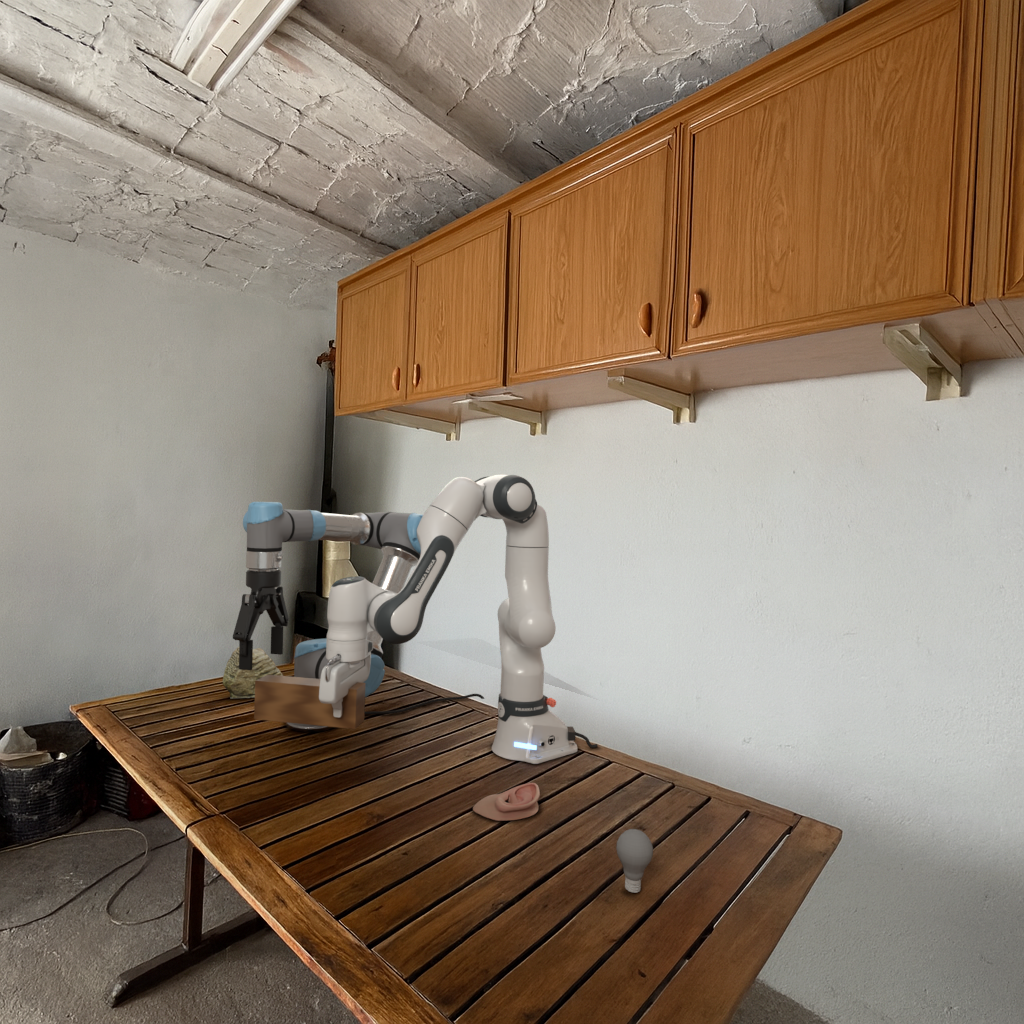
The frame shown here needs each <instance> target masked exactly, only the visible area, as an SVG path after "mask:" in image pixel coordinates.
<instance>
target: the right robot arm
mask: <svg viewBox="0 0 1024 1024" xmlns="http://www.w3.org/2000/svg"><path fill="white" fill-rule="evenodd" d="M479 517H482V518H489V519H493V520H502V521H503V524H504V526H505V530H506V537H505V539H506V540H505V560H504V563H505V564H504V577H505V582H506V588H507V595H508V597H506V598H505V599H504V600H503V601H502V602H500V604H499V606H498V609H497V620H498V622H497V623H498V636H499V639H498V640H499V649H500V650H499V652H500V663H501V667H500V668H501V669H500V692H499V694H498V698H497V699H498V700H497V701H498V702H497V724H496V731H495V735H494V739H493V742H492V745H491V751H492V752H493V753H494V754H495V755H496V756H498V757H500V758H503V759H507V760H511V761H516V762H517V761H519V762H526V763H528V764H533V765H538V764H542V763H545V762H549V761H551V760H555V759H559V758H562V757H565V756H568V755H572V754H576V753H578V752H579V751H578V744H577V743H576V742H575V741H576V737H578V738H581V739H583V740H584V742H585V743H586V744H587V747H588V748H590V749H596V748H598V746H599V745H598V743H594V744H592V743H591V742H590V739H589V738H588V737H587V736H586V735H584V734H582V733H579V732H577V731H576V730H575V728H574V726H567V724H566V722H565V721H563V720H562V719H561V718H560V717H559V716H557V714H555V713H554V712H553V711H552V710H550V709H549V707H551V708H555V707H556V706H557V700H556V699H554V698H552V697H548V696H546V695H545V694H544V681H545V663H544V660H543V655H542V648H544V647H546V646H548V645H549V644H550V643H551V642H552V641H553V639H554V637H555V636H556V635H555V634H556V622H555V619H554V615H553V609H552V608H553V606H552V599H551V591H550V583H549V555H550V554H549V552H550V547H549V546H550V533H549V524H548V515H547V512H546V509H544V507H542V506H541V505H539V504H538V501H537V499H536V494H535V489H534V487H533V486H532V484H531V483H530V481H528V479H526V478H525V477H522V476H520V475H516V474H495V475H491V476H483V477H480V478H478V479H476V480H472V479H471V478H469V477H465V476H457V477H454V478H453V479H451V480H450V481H448V483H447V484H445V486H444V487H443V488H442V489H441V491H440V492H439V493H438V494H437V495H436V496H435V498H434V499H433V500H432V502H430V504H429V505H428V507H427V508H426V510H425V512H424V513H423V516H422V518H421V520H420V523H419V525H418V528H417V538H418V541H419V543H420V547H421V555H420V558H419V561H418V563H417V565H415V566H414V567H413V570H412V572H410V574H409V576H408V578H407V580H406V583H405V585H404V587H403V589H402V590H401V591H400V592H399V593H395V592H393V591H390V590H387V589H384V588H381V587H379V586H376V585H374V584H373V582H370V581H369V580H367V579H366V577H364V576H359V575H356V576H347V577H343V578H340V579H338V580H335V582H333V583H332V585H331V587H330V589H329V593H328V599H327V601H328V602H327V613H326V618H327V623H328V629H327V633H326V638H327V640H326V659H328V664H327V665H326V666H325V667H324V668H323V670H322V673H321V678H320V687H319V700H320V702H321V703H325V704H332V707H333V716H334V717H341V716H342V715H343V714H344V708H343V707H342V701H343V697H345V696H346V695H347V694H348V690H349V688H350V687H352V686H353V685H354V684H356V683H357V682H361V683H363V682H364V681H366V680H367V679H368V676H369V673H370V664H371V651H372V650H373V642H372V641H369V640H367V634H368V632H370V631H376V632H378V634H379V635H380V636H381V637H382V638H383V640H384V641H385V642H387V643H388V644H389V643H390V644H393V645H402V644H406V643H408V642H409V641H411V640H413V639H414V638H415V637H416V636H417V635H418V633H419V632H420V630H421V628H422V625H423V622H424V616H425V612H426V608H427V606H428V604H429V602H430V600H431V598H432V596H433V595H434V593H435V591H436V589H437V587H438V586H439V583H440V581H441V580H442V578H443V576H444V574H445V573H446V571H447V570H448V567H449V565H450V564H451V561H452V558H453V556H455V555H454V554H455V553H456V550H457V549H458V547H459V546H460V544H461V542H462V541H463V540H464V538H465V536H466V535H467V533H468V532H469V530H470V528H471V527H472V525H473V524H474V522H475V521H476V519H478V518H479Z"/></svg>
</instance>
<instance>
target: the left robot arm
mask: <svg viewBox="0 0 1024 1024" xmlns="http://www.w3.org/2000/svg"><path fill="white" fill-rule="evenodd" d="M423 515H424V513H423V514H422V513H417V512H411V513H409V512H396V511H379V512H378V511H377V512H355V513H353V514H350V515H349V514H340V513H329V512H320V511H319V510H315V509H314V510H311V509H288V508H287V509H286V508H284V505H283V504H282V503H281V502H280V501H252V502H250V503H249V504H248V507H247V511H246V512H245V513H244V515H243V518H242V527H243V530H244V531H245V533H246V558H245V567H246V568H247V569H248V570H246V571H245V586H246V587H247V588H250V594H249V593H243V594H242V595H241V605H240V608H239V612H238V616H237V618H236V619H237V620H236V623H235V626H234V629H233V634H232V639H233V640H234V641H238V644H239V645H238V647H239V669H240V670H252V660H253V649H254V640H253V639H252V636H253V634H254V631H255V629H256V627H257V624H258V621H259V619H260V617H261V615H263V614H264V613H265V611H266V613H267V616H268V617H269V619H270V621H271V623H272V625H273V626H271V627H270V655H279V656H281V655H284V627H288V625H289V621H290V619H289V615H288V610H287V606H286V605H287V604H286V601H285V598H284V587H283V586H281V585H282V571H281V570H280V568H282V559H283V558H284V557H283V555H282V551H283V543H290V542H291V543H293V542H311V541H312V542H313V541H333V542H334V541H335V542H336V541H337V542H350V543H351V544H352V545H353V546H364V547H369V548H373V549H379V550H381V553H382V556H383V557H382V559H381V562H380V563H379V567H378V569H377V571H376V574H375V576H374V578H373V581H372V583H373V584H374V585H376V586H379V587H381V588H384V589H387V590H390V591H393V592H395V593H399V592H400V591H401V590H402V589H403V587H404V585H405V584H406V582H407V580H408V578H409V576H410V574H411V570H412V568H414V567H415V566H416V565H417V563H418V561H419V558H420V555H421V547H420V543H419V541H418V538H417V528H418V525H419V523H420V520H421V518H422V516H423ZM326 640H327V637H325V638H315V639H308V640H304V641H301V642H299V643H298V644H297V645H296V646H295V652H294V656H293V659H294V661H293V662H294V663H293V664H294V668H293V677H302V678H314V679H320V678H321V673H322V670H323V668H324V667H325V666H326V665H327V664H328V659H326ZM367 640H369V641H372V642H373V650H372V651H371V664H370V673H369V676H368V679H367V680H366V681H364V682H363V683H366V684H365V698H367V697H369V695H372V694H374V693H375V692H376V691H377V690H378V688H380V686H381V685H382V682H383V681H384V677H385V673H386V670H385V667H386V666H385V662H384V660H383V659H382V657H383V655H384V651H383V649H382V647H381V646H382V643H383V640H384V639H383V638H382V637H381V636H380V635H379V634H378V632H376V631H370V632H368V634H367ZM472 697H473V698H474V697H478V698H480V699H481V700H485V697H484V696H483V695H482V694H479V693H471V694H466V695H463V696H450V697H441V698H434V699H430V700H426V701H423V702H421V703H417V704H414V705H410V706H408V707H405V708H401V709H395V710H386V711H385V710H381V711H379V710H378V711H377V710H376V711H375V710H374V711H372V710H371V711H365V712H364V715H393V714H399V713H403V712H407V711H410V710H413V709H416V708H420V707H423V706H426V705H429V704H433V703H436V702H444V701H453V700H454V701H455V700H465V699H469V698H472ZM285 726H286V728H287V729H289V730H291V731H294V732H295V731H296V732H301V733H316V732H325V731H329V730H332V729H335V728H336V727H329V726H318V725H308V724H298V723H287V722H285Z"/></svg>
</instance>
